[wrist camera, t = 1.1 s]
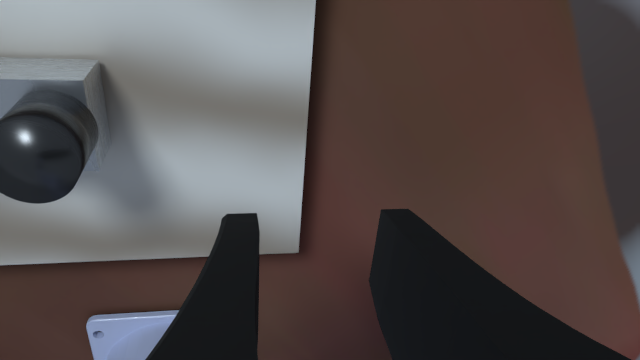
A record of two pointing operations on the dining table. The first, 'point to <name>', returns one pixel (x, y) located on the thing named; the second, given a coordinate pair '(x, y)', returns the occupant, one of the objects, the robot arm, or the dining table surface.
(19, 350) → the dining table surface
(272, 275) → the dining table surface
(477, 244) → the dining table surface
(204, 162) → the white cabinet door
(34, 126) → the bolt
